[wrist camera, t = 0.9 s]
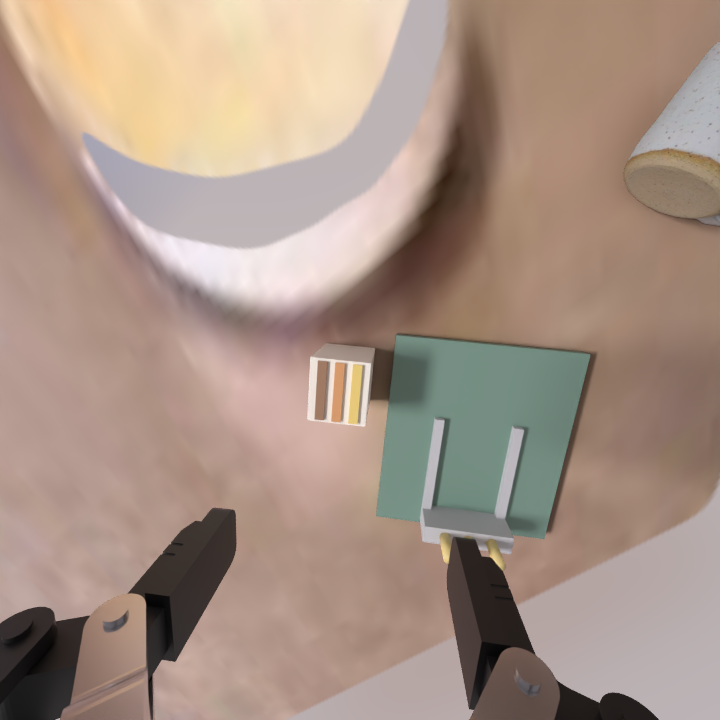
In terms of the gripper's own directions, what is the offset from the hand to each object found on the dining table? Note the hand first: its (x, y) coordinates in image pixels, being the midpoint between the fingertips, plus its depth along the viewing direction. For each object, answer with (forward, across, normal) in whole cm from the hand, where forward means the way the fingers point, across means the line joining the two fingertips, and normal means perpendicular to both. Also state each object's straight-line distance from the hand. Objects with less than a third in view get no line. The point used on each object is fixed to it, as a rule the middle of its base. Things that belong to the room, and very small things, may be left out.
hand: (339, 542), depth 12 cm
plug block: (+19, +2, -1) cm, 19 cm away
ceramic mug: (+20, -22, -19) cm, 36 cm away
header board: (+19, -10, +4) cm, 22 cm away
